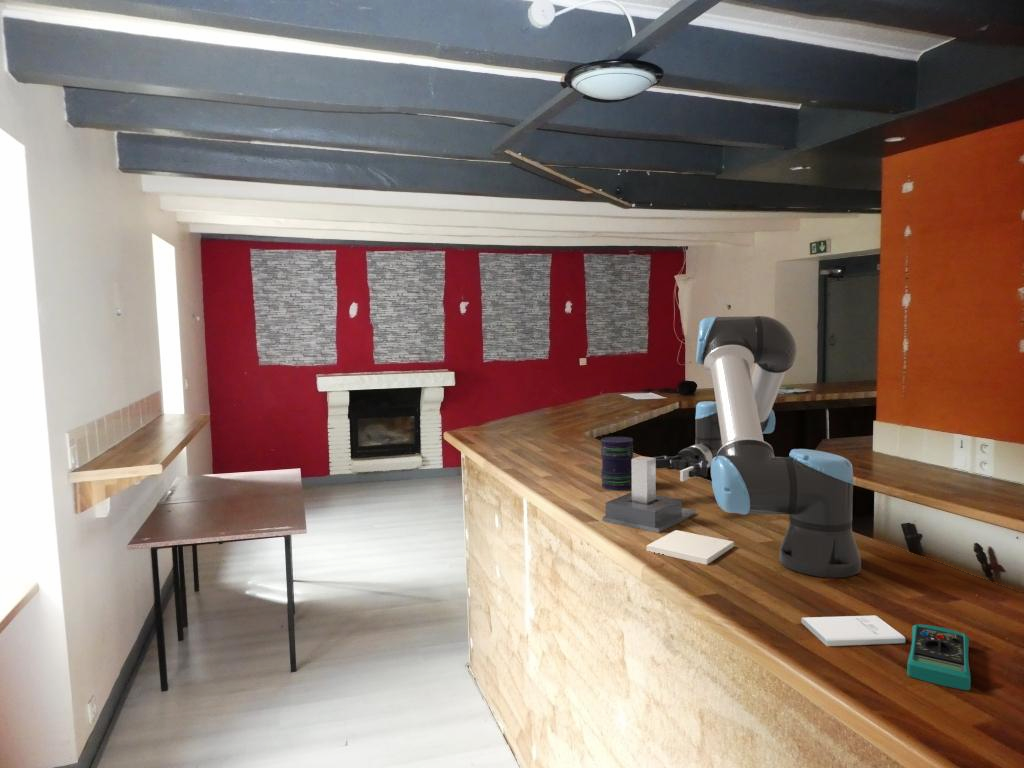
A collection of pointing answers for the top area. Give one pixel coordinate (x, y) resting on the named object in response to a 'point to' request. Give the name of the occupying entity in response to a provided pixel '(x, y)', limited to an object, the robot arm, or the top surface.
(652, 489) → the aluminium plug
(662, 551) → the cream pad
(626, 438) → the storage jar
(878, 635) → the external hard drive
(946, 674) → the digital multimeter
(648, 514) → the socket block
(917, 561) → the top surface
